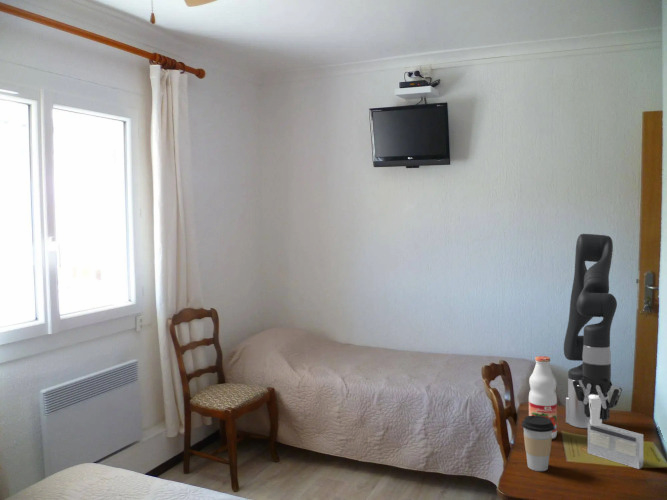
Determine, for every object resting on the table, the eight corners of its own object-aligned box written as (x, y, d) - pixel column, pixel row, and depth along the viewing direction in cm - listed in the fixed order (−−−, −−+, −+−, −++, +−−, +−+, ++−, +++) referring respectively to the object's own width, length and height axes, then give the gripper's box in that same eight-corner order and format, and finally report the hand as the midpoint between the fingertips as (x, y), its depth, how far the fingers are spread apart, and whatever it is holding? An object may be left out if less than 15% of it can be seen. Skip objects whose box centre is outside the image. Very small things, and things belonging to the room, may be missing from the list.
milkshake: (609, 427, 162) (610, 393, 162) (589, 426, 163) (590, 392, 163) (604, 421, 167) (605, 388, 166) (585, 420, 168) (586, 387, 167)
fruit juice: (552, 430, 204) (552, 354, 203) (560, 440, 195) (560, 360, 193) (525, 429, 205) (525, 354, 204) (532, 439, 196) (532, 360, 194)
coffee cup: (530, 458, 181) (530, 412, 180) (559, 467, 174) (559, 419, 173) (516, 467, 174) (516, 420, 173) (545, 477, 167) (545, 427, 167)
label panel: (587, 453, 184) (587, 423, 183) (592, 450, 186) (592, 420, 185) (638, 469, 171) (638, 437, 171) (643, 466, 173) (643, 434, 173)
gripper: (627, 362, 162) (627, 421, 162) (579, 354, 172) (579, 410, 173) (615, 367, 157) (615, 427, 157) (566, 358, 168) (567, 415, 168)
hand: (596, 418), depth 165 cm, fingers closed on milkshake, 4 cm apart
